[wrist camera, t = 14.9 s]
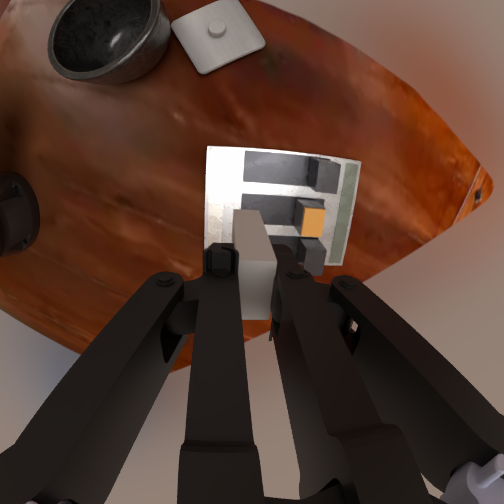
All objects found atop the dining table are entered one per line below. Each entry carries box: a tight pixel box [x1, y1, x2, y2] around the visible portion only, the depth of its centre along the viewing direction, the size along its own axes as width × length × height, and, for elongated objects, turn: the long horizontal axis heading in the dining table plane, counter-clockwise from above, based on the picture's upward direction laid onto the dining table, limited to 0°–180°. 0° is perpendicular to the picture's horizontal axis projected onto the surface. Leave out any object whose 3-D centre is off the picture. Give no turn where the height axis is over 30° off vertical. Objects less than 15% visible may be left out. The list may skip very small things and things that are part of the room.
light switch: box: [171, 0, 265, 74], centre depth 28 cm, size 10×10×5 cm
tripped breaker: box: [293, 199, 326, 237], centre depth 38 cm, size 3×4×4 cm
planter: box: [48, 0, 171, 84], centre depth 23 cm, size 14×14×13 cm
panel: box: [204, 146, 361, 275], centre depth 39 cm, size 22×17×6 cm
